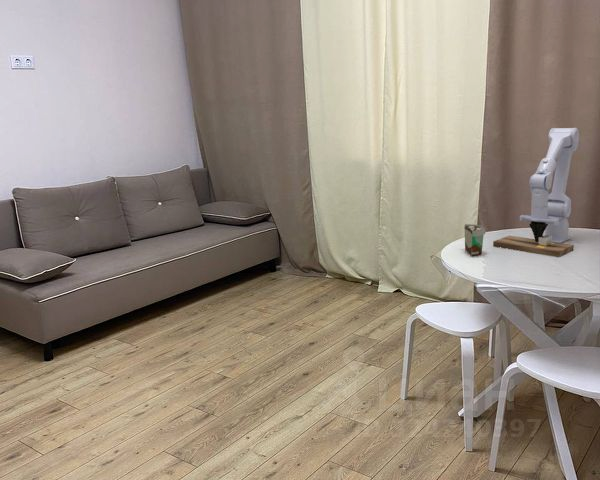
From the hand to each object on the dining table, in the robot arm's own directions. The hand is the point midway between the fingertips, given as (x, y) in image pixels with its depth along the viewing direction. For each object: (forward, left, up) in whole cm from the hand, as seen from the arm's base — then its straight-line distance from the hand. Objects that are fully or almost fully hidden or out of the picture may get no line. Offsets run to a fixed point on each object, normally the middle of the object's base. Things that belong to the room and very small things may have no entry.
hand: (538, 241), depth 225 cm
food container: (+18, -15, -3) cm, 24 cm away
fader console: (0, -2, -3) cm, 4 cm away
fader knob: (0, +3, -1) cm, 3 cm away
